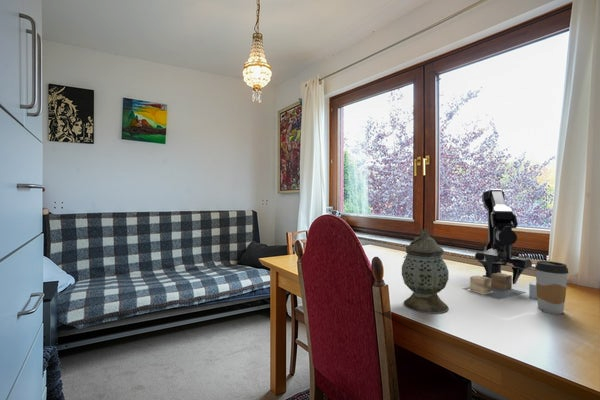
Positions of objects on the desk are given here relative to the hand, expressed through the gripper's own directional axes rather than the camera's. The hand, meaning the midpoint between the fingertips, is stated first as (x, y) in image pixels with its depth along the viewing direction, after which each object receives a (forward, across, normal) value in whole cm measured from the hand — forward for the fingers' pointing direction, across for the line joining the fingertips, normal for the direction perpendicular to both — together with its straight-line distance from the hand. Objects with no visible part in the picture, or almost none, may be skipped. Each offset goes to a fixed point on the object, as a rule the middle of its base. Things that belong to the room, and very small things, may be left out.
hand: (501, 281), depth 122 cm
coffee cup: (+3, +21, -11) cm, 24 cm away
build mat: (+3, +1, -7) cm, 8 cm away
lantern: (+3, 0, -44) cm, 44 cm away
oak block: (+2, -1, -12) cm, 12 cm away
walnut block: (+2, 0, 0) cm, 2 cm away
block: (+3, +13, 0) cm, 13 cm away
